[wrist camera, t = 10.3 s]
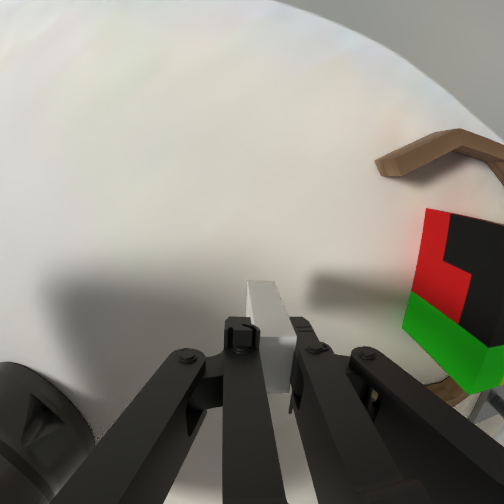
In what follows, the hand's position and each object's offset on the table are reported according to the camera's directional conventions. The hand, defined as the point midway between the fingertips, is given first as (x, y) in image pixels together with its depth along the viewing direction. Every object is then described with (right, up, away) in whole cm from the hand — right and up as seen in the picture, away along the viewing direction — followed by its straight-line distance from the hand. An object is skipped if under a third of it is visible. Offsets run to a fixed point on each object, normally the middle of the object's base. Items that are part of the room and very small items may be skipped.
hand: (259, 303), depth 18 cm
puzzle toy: (+17, +1, +5) cm, 18 cm away
